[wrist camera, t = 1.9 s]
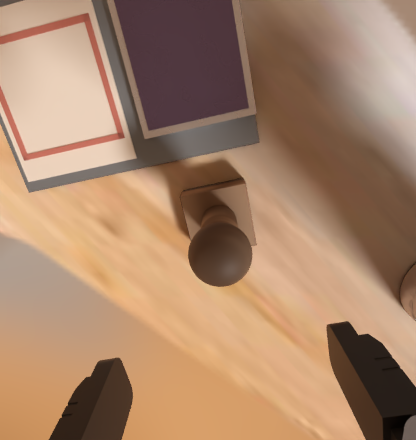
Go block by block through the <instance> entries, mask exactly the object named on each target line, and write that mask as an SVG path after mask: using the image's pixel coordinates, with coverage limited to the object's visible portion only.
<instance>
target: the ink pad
mask: <svg viewBox="0 0 416 440" xmlns="http://www.w3.org/2000/svg"><path fill="white" fill-rule="evenodd" d="M107 3H108V6H109V10H110V14H111V17H112V21H113V25H114V28H115V32H116V36H117V39H118V43H119V47H120V50H121V54H122V58H123V61H124V65H125V69H126V72H127V76H128V80H129V83H130V87H131V91H132V94H133V98H134V102H135V105H136V109H137V113H138V116H139V120H140V124H141V127H142V131H143V135H144V138H145V139H148V138H153V137H157V136H161V135H166V134H170V133H175V132H179V131H183V130H188V129H192V128H197V127H201V126H206V125H210V124H214V123H219V122H223V121H228V120H232V119H236V118H241V117H245V116H250V115H254V114H257V112H256V106H255V99H254V93H253V86H252V79H251V73H250V66H249V60H248V53H247V47H246V40H245V34H244V27H243V21H242V14H241V8H240V1H239V0H107Z"/></svg>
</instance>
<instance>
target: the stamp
mask: <svg viewBox="0 0 416 440" xmlns="http://www.w3.org/2000/svg"><path fill="white" fill-rule="evenodd" d="M180 199H181V203H182V207H183V211H184V215H185V219H186V223H187V227H188V231H189V235H190V239H191V243H190V246H189V252H188V258H189V263H190V266H191V268H192V270H193V272H194V273H195V275H196V276H197V277H198V278H199V279H200V280H202V281H203V282H205V283H207V284H209V285H212V286H218V287H223V286H229V285H232V284H234V283H236V282H238V281H239V280H240V279H242V278H243V277H244V276H245V274H246V273H247V272H248V270H249V268H250V265H251V261H252V248H251V246H255V245H257V244H256V238H255V232H254V227H253V221H252V215H251V210H250V204H249V198H248V193H247V187H246V183H245V181H244V179H243V178H240V179H235V180H231V181H226V182H221V183H216V184H211V185H207V186H202V187H197V188H192V189H187V190H183V192H182V194H181V196H180Z"/></svg>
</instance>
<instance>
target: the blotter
mask: <svg viewBox="0 0 416 440" xmlns="http://www.w3.org/2000/svg"><path fill="white" fill-rule="evenodd" d="M0 124H1V126H2V129H3V131H4V133H5V136H6V138H7V141H8V143H9V146H10V148H11V150H12V153H13V155H14V158H15V160H16V162H17V165H18V167H19V170H20V172H21V174H22V177H23V179H24V182H25V184H26V187H27V189H28V191H29V192H34V191H39V190H43V189H48V188H53V187H57V186H62V185H66V184H71V183H76V182H80V181H85V180H89V179H94V178H99V177H103V176H108V175H112V174H117V173H122V172H126V171H131V170H135V169H140V168H145V167H149V166H154V165H158V164H163V163H168V162H172V161H177V160H181V159H186V158H191V157H195V156H200V155H204V154H209V153H214V152H218V151H223V150H227V149H232V148H237V147H241V146H246V145H251V144H255V143H259V137H258V131H257V124H256V118H255V114H254V115H250V116H245V117H241V118H236V119H232V120H228V121H223V122H219V123H214V124H210V125H206V126H201V127H197V128H192V129H188V130H183V131H179V132H175V133H170V134H166V135H161V136H157V137H153V138H148V139H145V138H144V135H143V131H142V127H141V124H140V120H139V116H138V113H137V109H136V105H135V102H134V98H133V94H132V91H131V87H130V83H129V80H128V76H127V72H126V69H125V65H124V61H123V58H122V54H121V50H120V47H119V43H118V39H117V36H116V32H115V28H114V25H113V21H112V17H111V14H110V10H109V6H108V3H107V0H0Z"/></svg>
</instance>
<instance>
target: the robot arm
mask: <svg viewBox="0 0 416 440" xmlns="http://www.w3.org/2000/svg"><path fill="white" fill-rule="evenodd" d="M400 299H401V303H402V305H403V308H404V309H405V311H406V312H407V313H408V314H409V315H410V316H411V317H412V318H413V319H414V320H415V321H416V264H415V265H414V266H413V267H412V268H411V269H410V270H409V271H408V273H407V274H406V276H405V278H404V279H403V282H402V285H401V290H400ZM327 337H328V347H329V356H330V362H331V365H332V369H333V371H334V374H335V376H336V378H337V381H338V383H339V385H340V387H341V389H342V391H343V393H344V395H345V397H346V399H347V401H348V403H349V405H350V408H351V410H352V412H353V414H354V416H355V418H356V420H357V422H358V424H359V426H360V428H361V430H362V432H363V435H364V437H365V439H366V440H416V387H415V386H414V384H413V383H412V382H411V380H410V379H409V378H408V377H407V375H406V374H405V373H404V371H403V370H402V369H400V366H399V365H398V363H397V362H396V361H395V360H394V359H393V358H392V356H391V354H390V353H389V352H388V350H387V349H386V348H385V346H384V345H383V344H382V343H381V342H379V341H378V340H376V339H375V338H373V337H372V336H371V335H369V334H364V335H358V334H357V333H356V331H355V330H354V328H353V327H352V325H351V324H350V323H349V322H348V321H346V322H340V323H334V324H328V325H327ZM132 399H133V392H132V387H131V384H130V381H129V379H128V376H127V374H126V371H125V368H124V366H123V363H122V361H121V360H120V358H113V359H107V360H101V361H99V362H98V363H97V365H96V366H95V369H94V371H93V373H92V375H91V377H86V378H85V379H84V380H83V381H82V382H81V384H80V385H79V386H78V387H77V388H76V390H75V391H74V393H73V394H72V397H71V398H70V400H69V402H68V406H66V408H65V410H64V412H63V414H62V418H60V419H59V421H58V423H57V425H56V427H55V429H54V431H53V433H52V435H51V437H50V439H49V440H121V439H122V436H123V433H124V429H125V426H126V422H127V418H128V415H129V412H130V409H131V405H132Z"/></svg>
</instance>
